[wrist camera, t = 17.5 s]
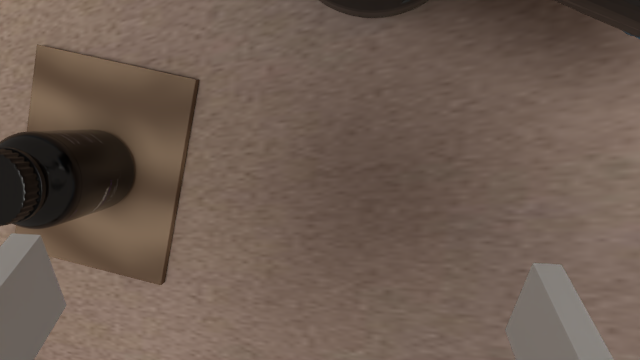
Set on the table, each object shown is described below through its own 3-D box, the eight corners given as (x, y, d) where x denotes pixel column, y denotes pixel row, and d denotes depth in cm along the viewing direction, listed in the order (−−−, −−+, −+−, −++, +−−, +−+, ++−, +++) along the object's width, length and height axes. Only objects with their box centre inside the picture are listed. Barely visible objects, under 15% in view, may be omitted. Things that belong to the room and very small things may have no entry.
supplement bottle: (135, 213, 41) (37, 253, 29) (61, 201, 42) (-64, 236, 30) (140, 133, 40) (41, 142, 28) (64, 122, 41) (-64, 127, 29)
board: (43, 45, 41) (36, 44, 40) (199, 80, 40) (195, 79, 39) (20, 244, 44) (13, 247, 43) (164, 282, 42) (160, 285, 42)
